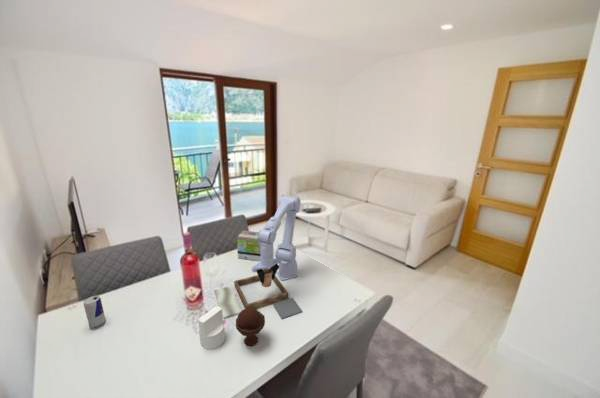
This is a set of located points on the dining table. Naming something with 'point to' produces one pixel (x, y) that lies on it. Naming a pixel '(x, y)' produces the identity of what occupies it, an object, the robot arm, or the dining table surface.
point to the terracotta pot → (267, 277)
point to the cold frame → (231, 304)
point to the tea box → (248, 246)
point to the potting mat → (287, 308)
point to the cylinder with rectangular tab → (211, 329)
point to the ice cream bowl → (250, 325)
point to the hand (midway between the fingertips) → (267, 280)
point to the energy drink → (94, 312)
